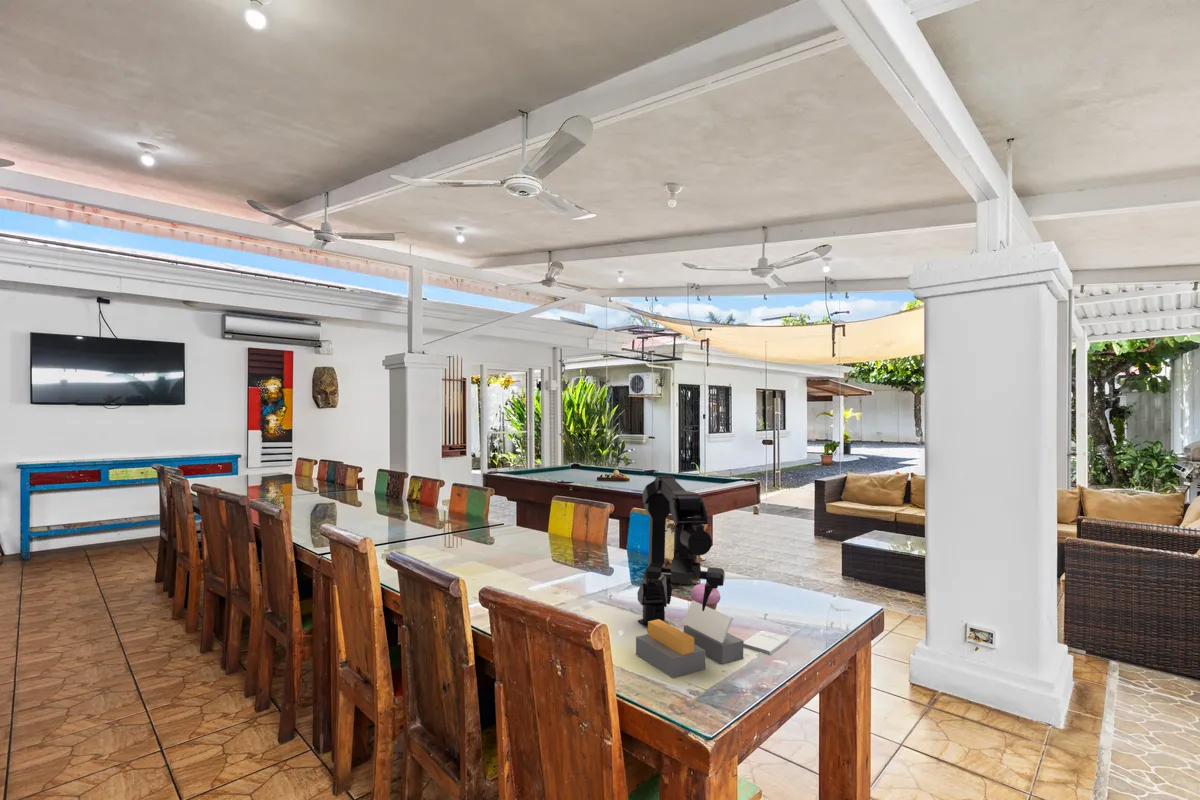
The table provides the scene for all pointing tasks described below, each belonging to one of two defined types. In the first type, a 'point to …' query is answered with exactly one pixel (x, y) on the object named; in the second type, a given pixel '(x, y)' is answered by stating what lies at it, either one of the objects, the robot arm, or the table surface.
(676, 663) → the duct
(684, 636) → the orange bar
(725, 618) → the panel
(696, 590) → the cupcake
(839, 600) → the table surface
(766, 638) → the external hard drive
